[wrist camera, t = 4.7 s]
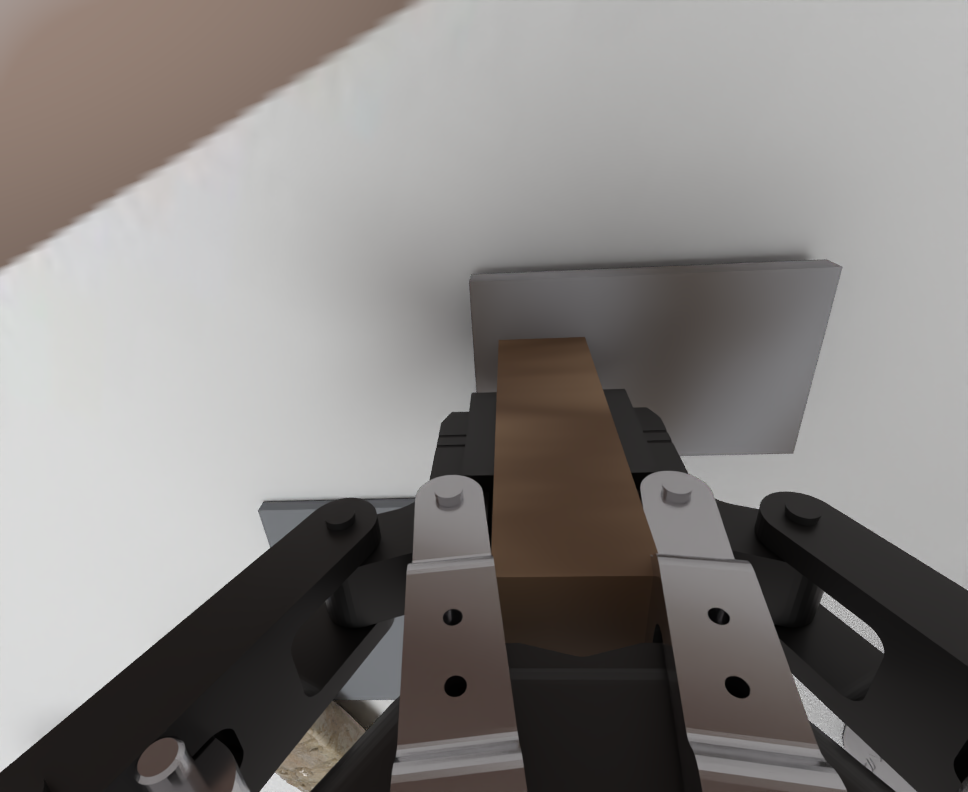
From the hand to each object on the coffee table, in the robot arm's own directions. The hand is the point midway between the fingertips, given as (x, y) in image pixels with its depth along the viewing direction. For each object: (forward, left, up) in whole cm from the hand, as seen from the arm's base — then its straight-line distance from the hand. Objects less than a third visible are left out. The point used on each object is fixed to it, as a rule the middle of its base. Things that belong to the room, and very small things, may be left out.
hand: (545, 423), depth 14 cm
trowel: (0, 0, -4) cm, 4 cm away
